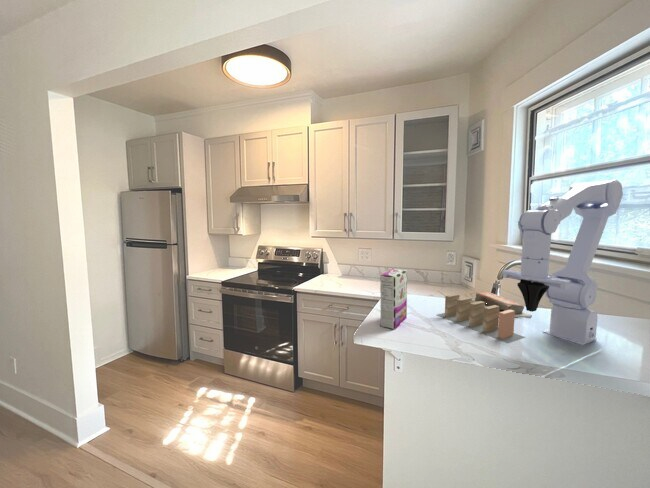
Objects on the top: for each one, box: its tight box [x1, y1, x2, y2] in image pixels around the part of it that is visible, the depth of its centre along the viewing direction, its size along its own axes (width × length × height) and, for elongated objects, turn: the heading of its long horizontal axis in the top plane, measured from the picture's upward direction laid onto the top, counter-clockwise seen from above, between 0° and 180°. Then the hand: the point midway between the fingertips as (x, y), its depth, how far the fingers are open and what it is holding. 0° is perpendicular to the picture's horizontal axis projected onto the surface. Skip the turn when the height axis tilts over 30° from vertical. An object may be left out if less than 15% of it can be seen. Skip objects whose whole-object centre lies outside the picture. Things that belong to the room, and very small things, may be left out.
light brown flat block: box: [483, 305, 499, 333], centre depth 84 cm, size 1×5×7 cm, turn 117°
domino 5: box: [498, 310, 516, 339], centre depth 80 cm, size 1×5×7 cm, turn 119°
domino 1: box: [444, 293, 460, 318], centre depth 96 cm, size 1×5×7 cm, turn 117°
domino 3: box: [469, 301, 485, 327], centre depth 88 cm, size 1×5×7 cm, turn 117°
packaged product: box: [472, 291, 533, 319], centre depth 103 cm, size 18×5×10 cm
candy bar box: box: [379, 268, 408, 330], centre depth 91 cm, size 11×5×16 cm, turn 146°
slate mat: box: [436, 312, 526, 344], centre depth 89 cm, size 24×8×1 cm, turn 27°
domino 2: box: [456, 296, 473, 322], centre depth 92 cm, size 1×5×7 cm, turn 117°
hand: (531, 310), depth 74 cm, fingers closed
